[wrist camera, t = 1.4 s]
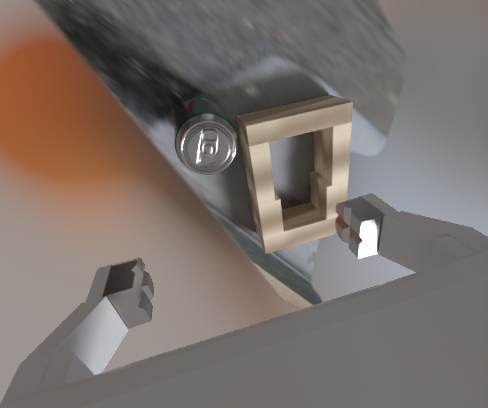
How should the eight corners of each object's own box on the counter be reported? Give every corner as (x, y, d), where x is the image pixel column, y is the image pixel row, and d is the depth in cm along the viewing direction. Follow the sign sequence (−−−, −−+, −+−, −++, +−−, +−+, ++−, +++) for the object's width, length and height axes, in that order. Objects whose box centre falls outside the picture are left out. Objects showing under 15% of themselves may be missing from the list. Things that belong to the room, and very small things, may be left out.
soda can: (174, 136, 31) (175, 179, 21) (173, 90, 29) (174, 113, 18) (217, 137, 32) (238, 179, 22) (219, 93, 30) (244, 117, 20)
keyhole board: (236, 115, 31) (246, 126, 27) (329, 94, 33) (352, 101, 29) (256, 232, 41) (265, 253, 37) (327, 212, 42) (344, 231, 38)
